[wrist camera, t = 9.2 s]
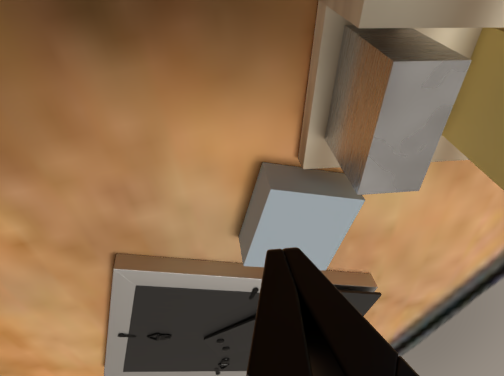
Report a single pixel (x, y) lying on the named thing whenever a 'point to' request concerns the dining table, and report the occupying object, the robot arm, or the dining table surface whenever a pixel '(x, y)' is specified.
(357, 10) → the shelf tray
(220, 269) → the picture frame
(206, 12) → the dining table surface
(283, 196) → the blue book lying
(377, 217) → the dining table surface
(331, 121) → the bookend
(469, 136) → the olive yellow block
